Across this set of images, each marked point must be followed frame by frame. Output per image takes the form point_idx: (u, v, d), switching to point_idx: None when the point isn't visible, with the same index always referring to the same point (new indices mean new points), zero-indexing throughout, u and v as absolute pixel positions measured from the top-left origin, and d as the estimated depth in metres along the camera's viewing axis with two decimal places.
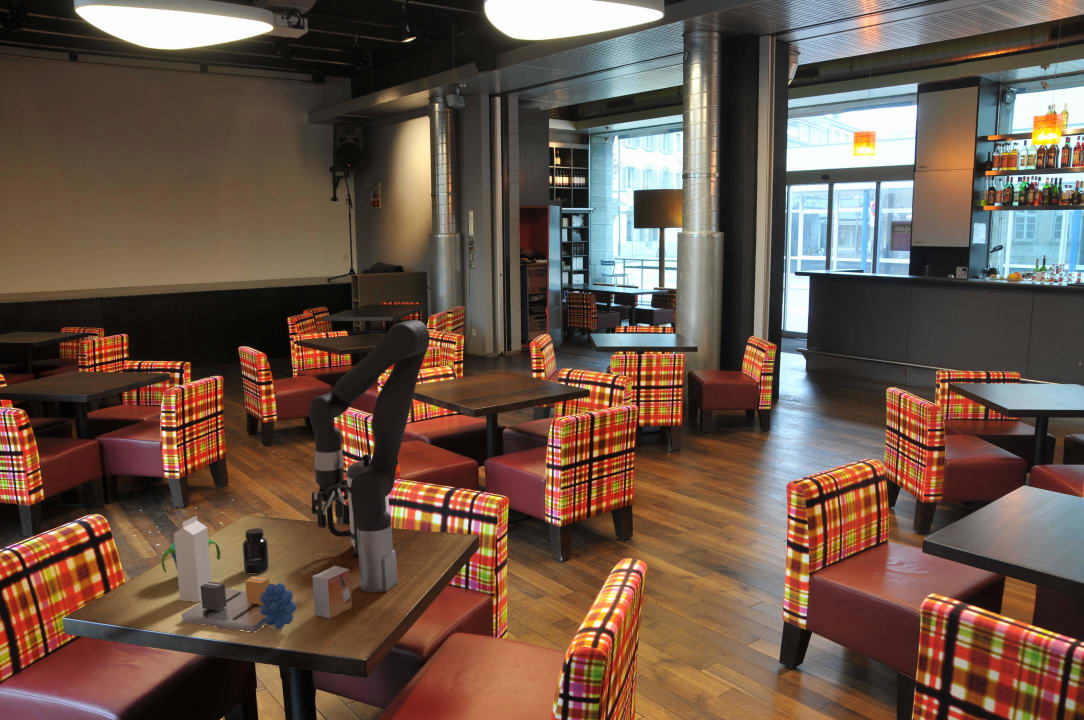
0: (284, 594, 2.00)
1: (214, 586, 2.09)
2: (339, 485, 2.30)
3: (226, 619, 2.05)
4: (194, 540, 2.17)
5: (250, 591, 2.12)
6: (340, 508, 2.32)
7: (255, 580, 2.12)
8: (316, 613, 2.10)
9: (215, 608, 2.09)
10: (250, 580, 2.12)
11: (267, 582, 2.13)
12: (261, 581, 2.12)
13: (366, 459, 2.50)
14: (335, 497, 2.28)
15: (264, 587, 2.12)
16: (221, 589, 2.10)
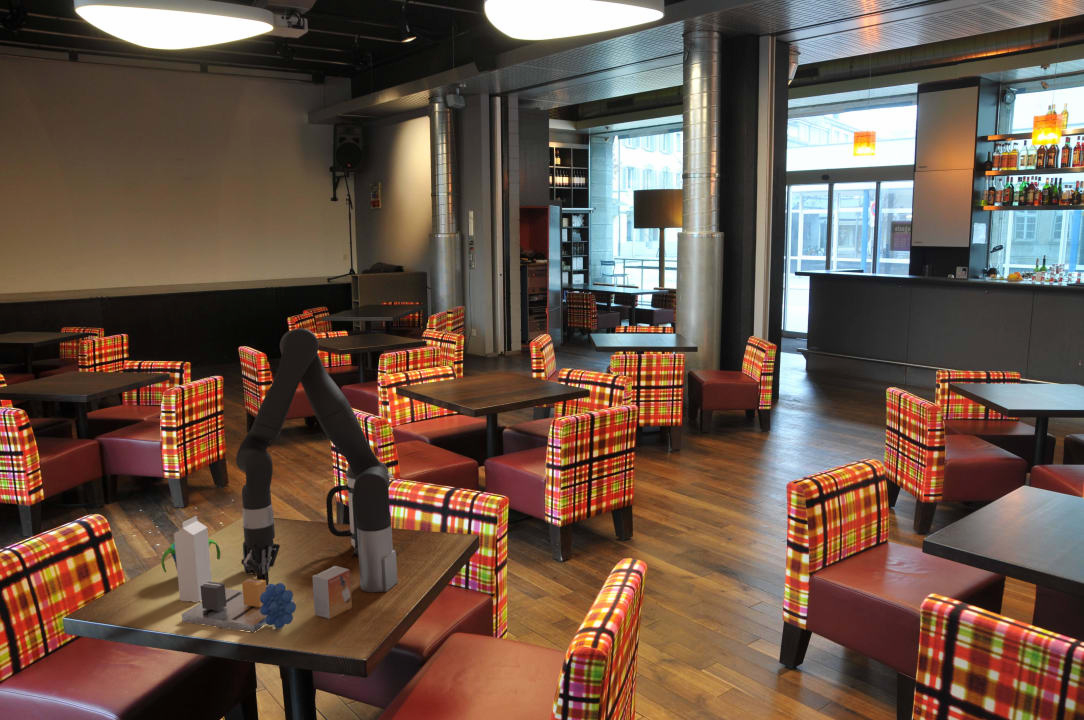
0: (284, 594, 2.00)
1: (214, 586, 2.09)
2: (271, 542, 2.17)
3: (226, 619, 2.05)
4: (194, 540, 2.17)
5: (247, 593, 2.11)
6: None
7: (252, 582, 2.11)
8: (316, 613, 2.10)
9: (215, 608, 2.09)
10: (247, 582, 2.11)
11: (264, 584, 2.12)
12: (258, 583, 2.10)
13: None
14: None
15: (261, 589, 2.11)
16: (221, 589, 2.10)
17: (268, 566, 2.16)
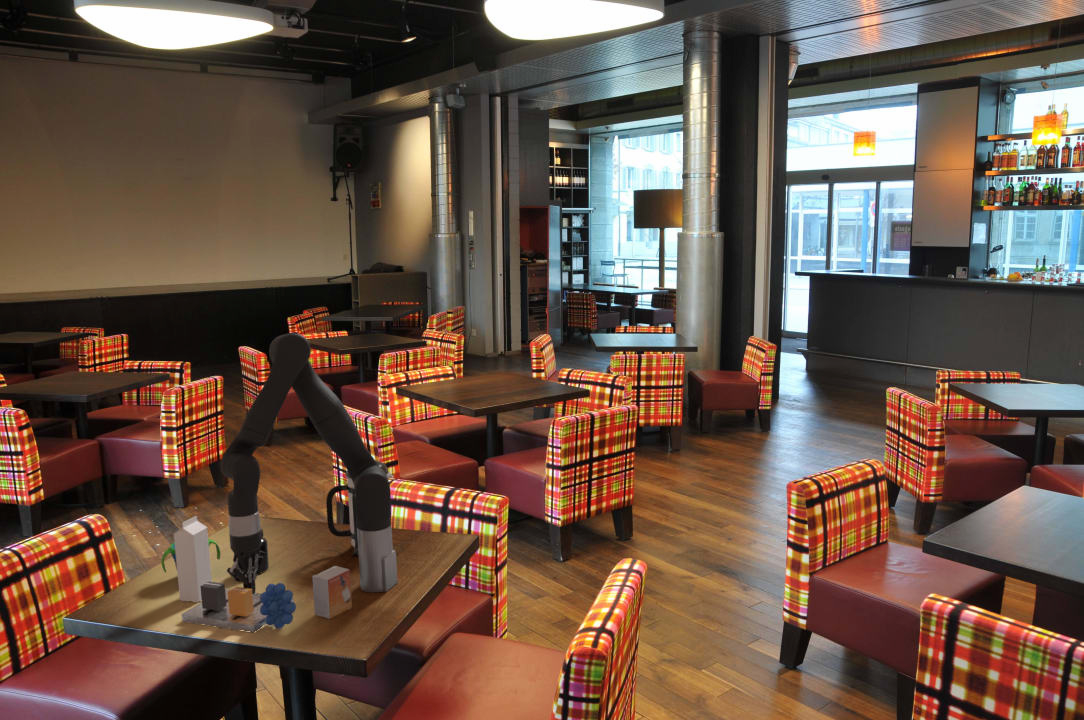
0: (284, 594, 2.00)
1: (214, 586, 2.09)
2: (258, 550, 2.12)
3: (226, 619, 2.05)
4: (194, 540, 2.17)
5: (232, 602, 2.06)
6: None
7: (237, 591, 2.06)
8: (316, 613, 2.10)
9: (215, 608, 2.09)
10: (232, 591, 2.06)
11: (250, 593, 2.07)
12: (244, 592, 2.05)
13: None
14: None
15: (247, 598, 2.06)
16: (221, 589, 2.10)
17: (255, 574, 2.10)
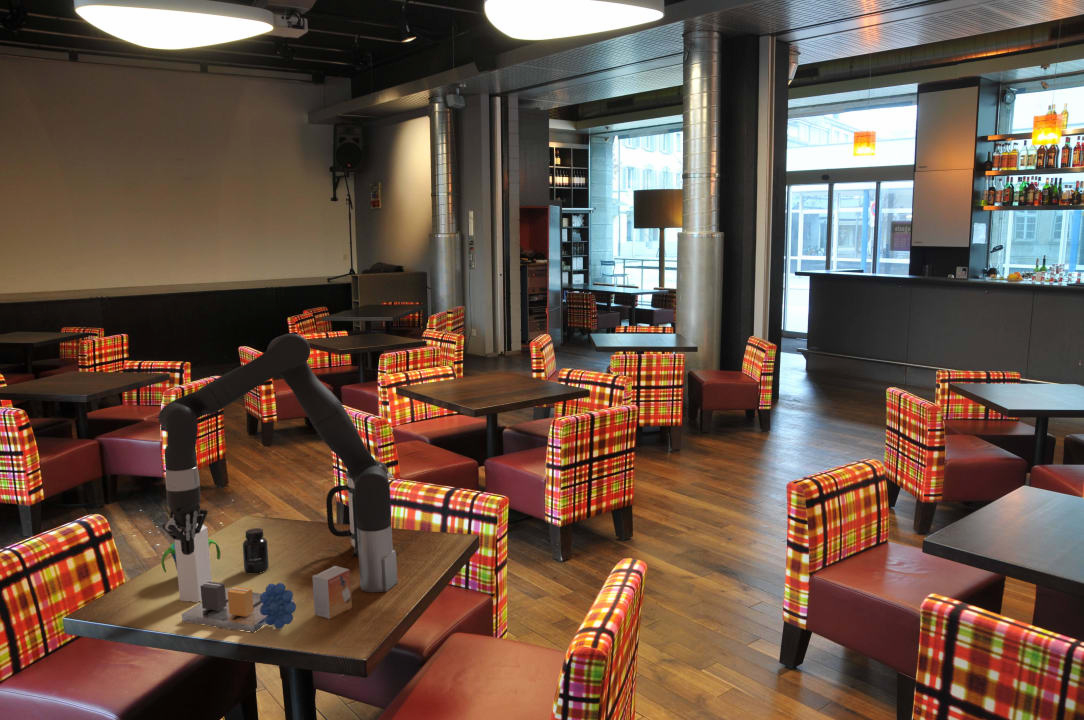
0: (284, 594, 2.00)
1: (214, 586, 2.09)
2: (197, 507, 2.03)
3: (226, 619, 2.05)
4: (194, 540, 2.17)
5: (232, 602, 2.06)
6: None
7: (237, 591, 2.06)
8: (316, 613, 2.10)
9: (215, 608, 2.09)
10: (232, 591, 2.06)
11: (250, 593, 2.07)
12: (244, 592, 2.05)
13: None
14: None
15: (247, 598, 2.06)
16: (221, 589, 2.10)
17: (193, 532, 2.02)
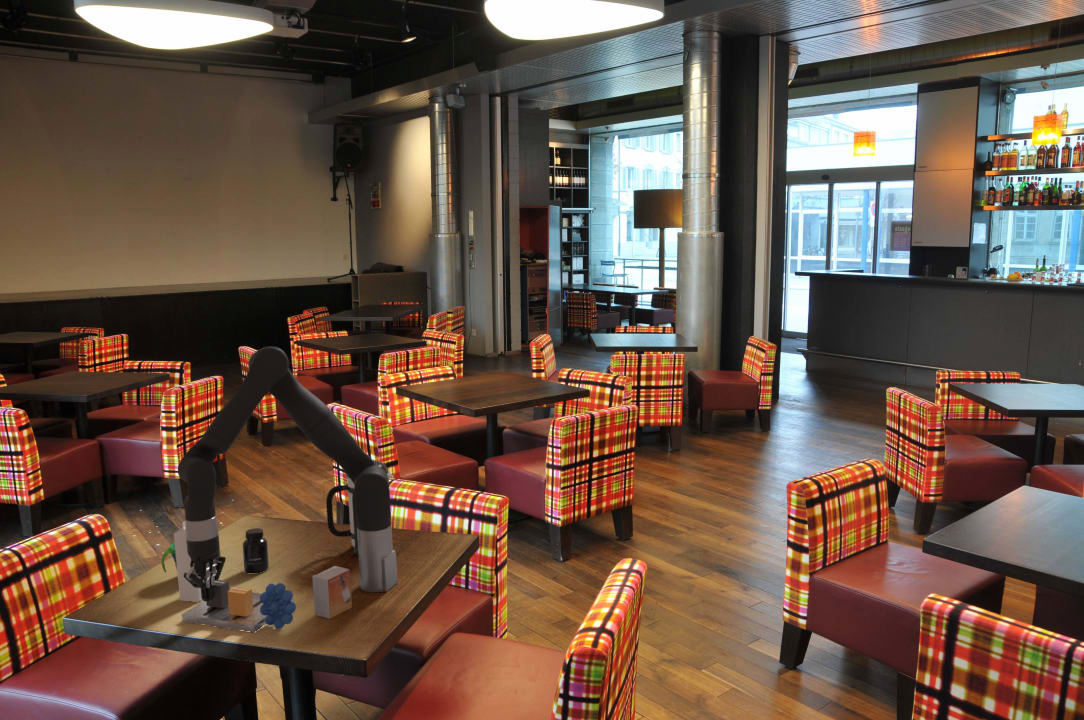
0: (284, 594, 2.00)
1: (218, 584, 2.11)
2: (216, 555, 2.09)
3: (226, 619, 2.05)
4: None
5: (232, 602, 2.06)
6: None
7: (237, 591, 2.06)
8: (316, 613, 2.10)
9: (219, 606, 2.11)
10: (232, 591, 2.06)
11: (250, 593, 2.07)
12: (244, 592, 2.05)
13: None
14: None
15: (247, 598, 2.06)
16: (225, 587, 2.11)
17: (213, 580, 2.08)
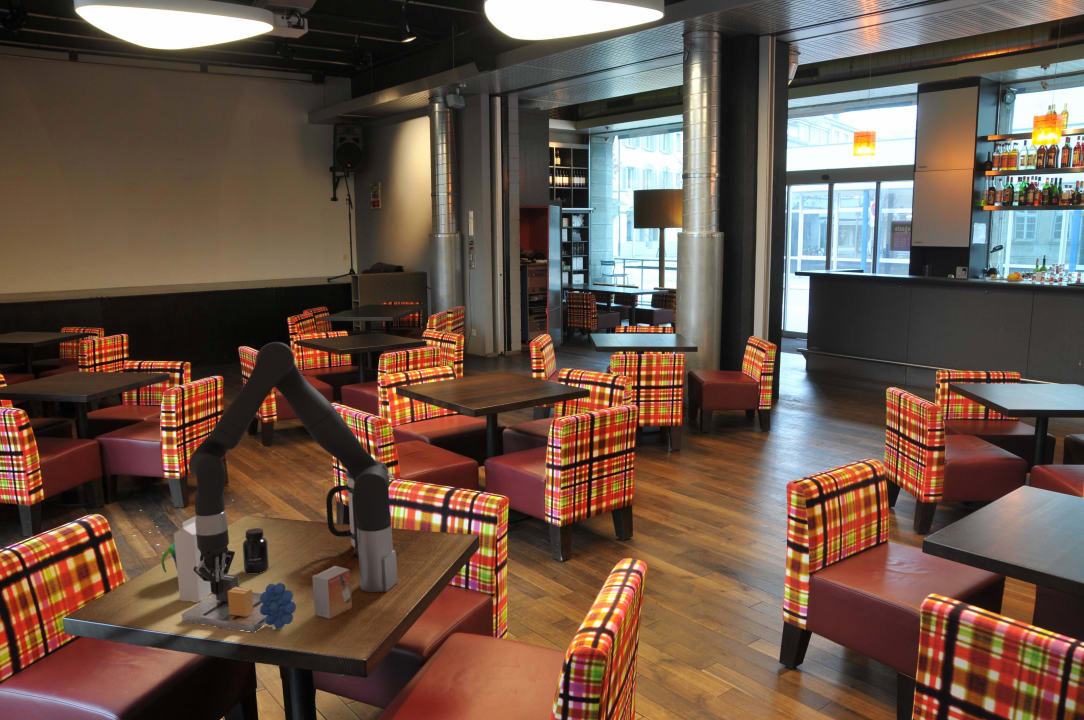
0: (284, 594, 2.00)
1: (228, 578, 2.14)
2: (225, 549, 2.13)
3: (226, 619, 2.05)
4: (194, 540, 2.17)
5: (232, 602, 2.06)
6: None
7: (237, 591, 2.06)
8: (316, 613, 2.10)
9: None
10: (232, 591, 2.06)
11: (250, 593, 2.07)
12: (244, 592, 2.05)
13: None
14: None
15: (247, 598, 2.06)
16: (235, 581, 2.15)
17: (222, 573, 2.12)
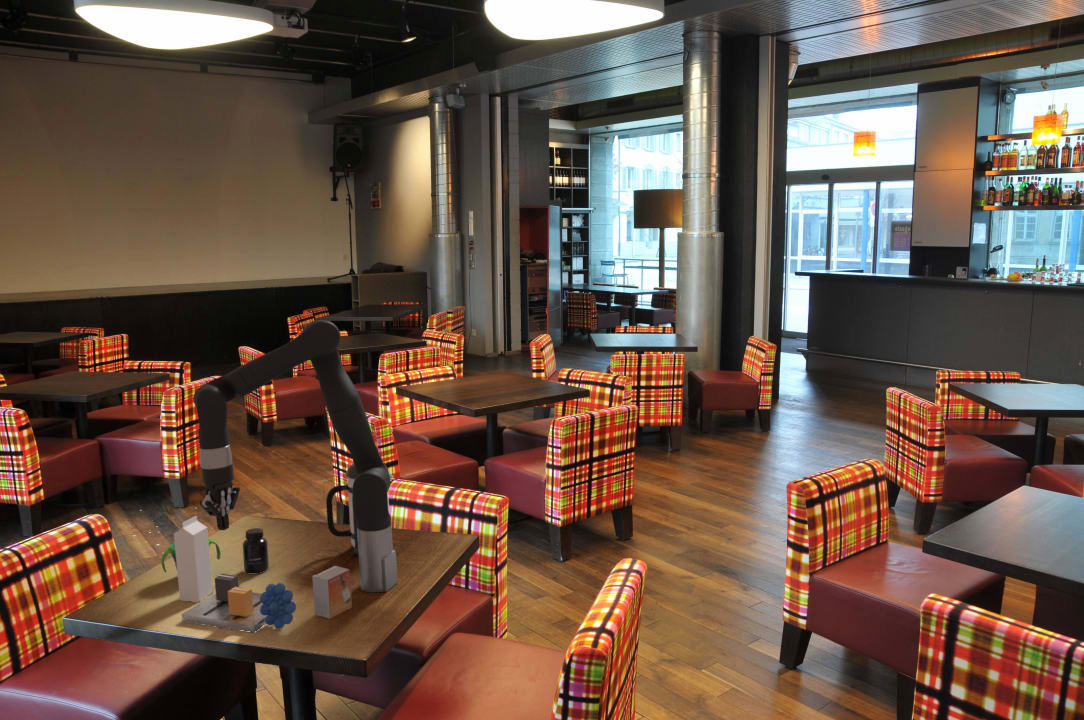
0: (284, 594, 2.00)
1: (228, 578, 2.14)
2: (230, 484, 2.12)
3: (226, 619, 2.05)
4: (194, 540, 2.17)
5: (232, 602, 2.06)
6: None
7: (237, 591, 2.06)
8: (316, 613, 2.10)
9: None
10: (232, 591, 2.06)
11: (250, 593, 2.07)
12: (244, 592, 2.05)
13: None
14: None
15: (247, 598, 2.06)
16: (235, 581, 2.15)
17: (228, 509, 2.11)
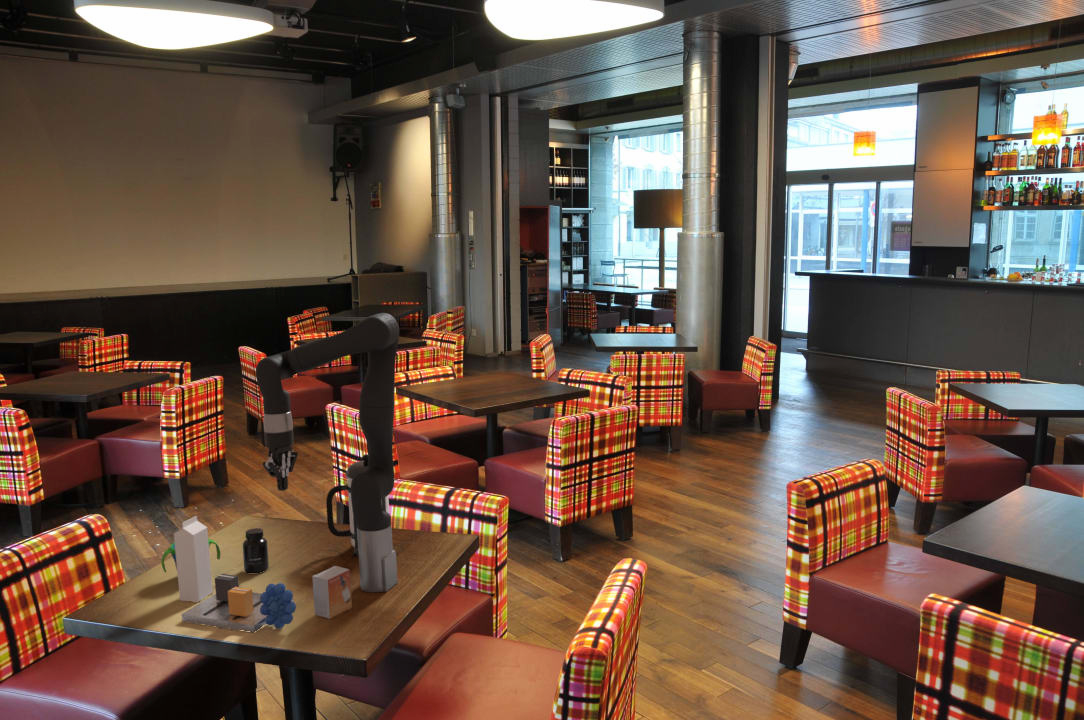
0: (284, 594, 2.00)
1: (228, 578, 2.14)
2: (290, 448, 2.28)
3: (226, 619, 2.05)
4: (194, 540, 2.17)
5: (232, 602, 2.06)
6: None
7: (237, 591, 2.06)
8: (316, 613, 2.10)
9: None
10: (232, 591, 2.06)
11: (250, 593, 2.07)
12: (244, 592, 2.05)
13: (366, 459, 2.50)
14: None
15: (247, 598, 2.06)
16: (235, 581, 2.15)
17: (287, 471, 2.27)
